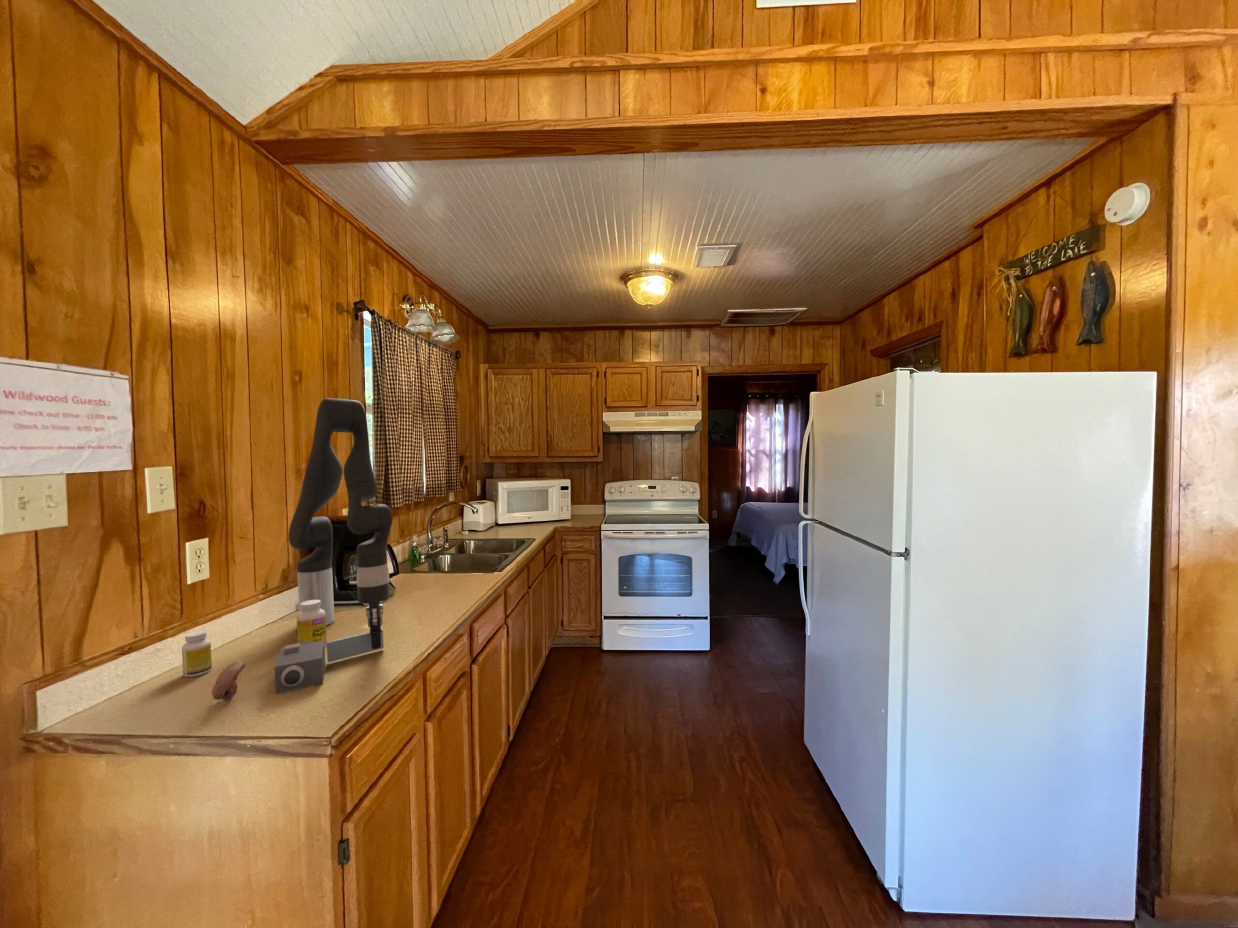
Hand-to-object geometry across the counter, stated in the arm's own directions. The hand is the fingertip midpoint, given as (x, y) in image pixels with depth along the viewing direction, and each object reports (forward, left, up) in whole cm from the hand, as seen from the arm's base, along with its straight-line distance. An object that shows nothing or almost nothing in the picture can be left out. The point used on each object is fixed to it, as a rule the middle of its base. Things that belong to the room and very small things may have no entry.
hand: (376, 647), depth 130 cm
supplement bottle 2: (-14, -15, -2) cm, 21 cm away
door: (-2, -5, -2) cm, 6 cm away
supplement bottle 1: (-12, -39, -2) cm, 41 cm away
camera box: (+5, -16, -2) cm, 17 cm away
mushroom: (+9, -29, -2) cm, 31 cm away
